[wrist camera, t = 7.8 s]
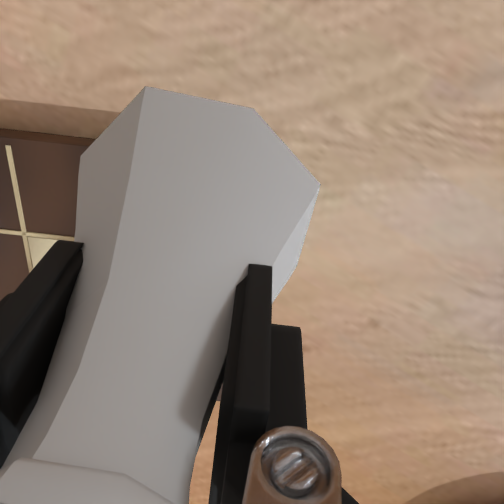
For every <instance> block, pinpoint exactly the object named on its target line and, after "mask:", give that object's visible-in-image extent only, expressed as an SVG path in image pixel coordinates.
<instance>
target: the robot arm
mask: <svg viewBox="0 0 504 504" xmlns="http://www.w3.org/2000/svg"><path fill="white" fill-rule="evenodd" d="M83 244H84V243H82V242H74V241H65V240H58V241H56V242H55V243H54V245H53V246H52V247H51V248H50V249H49V250H48V252H47V253H46V254H45V255H44V256H43V258H42V259H41V260H40V261H39V262H38V264H37V265H36V266H35V267H34V268H33V270H32V271H31V272H30V273H29V274H28V276H27V277H26V278H25V279H24V280H23V282H22V283H21V284H20V285H19V286H18V288H17V289H16V290H15V291H14V292H13V293H9V294H7V295H6V296H5V297H4V298H3V299H2V300H1V301H0V469H1V468H2V466H3V464H4V463H5V461H6V459H7V457H8V455H9V453H10V452H11V450H12V448H13V446H14V444H15V442H16V440H17V439H18V437H19V435H20V433H21V431H22V429H23V427H24V426H25V424H26V422H27V420H28V418H29V416H30V415H31V413H32V411H33V409H34V407H35V405H36V403H37V401H38V398H39V395H40V392H41V389H42V386H43V383H44V380H45V377H46V374H47V371H48V368H49V365H50V362H51V359H52V356H53V353H54V350H55V347H56V344H57V341H58V338H59V335H60V331H61V328H62V325H63V322H64V319H65V314H66V308H67V306H68V303H69V300H70V297H71V294H72V291H73V289H74V286H75V283H76V280H77V277H78V274H79V272H80V269H81V266H82V263H83V252H82V249H81V248H82V247H83ZM271 316H272V266H268V265H260V264H249V266H248V275H247V276H246V277H245V278H244V279H243V280H242V281H241V282H240V283H239V284H238V285H237V286H236V291H235V299H234V306H233V313H232V321H231V328H230V335H229V343H228V350H227V357H226V365H225V372H224V379H223V387H222V394H221V402H220V410H219V418H218V427H217V435H216V444H215V452H214V461H213V470H212V478H211V487H210V495H209V504H359V503H358V502H357V501H356V500H355V499H354V498H353V497H352V496H350V495H349V494H348V493H347V492H346V491H345V490H344V489H343V488H342V487H341V470H340V464H339V460H338V458H337V456H336V454H335V452H334V450H333V449H332V448H331V447H330V446H329V444H328V443H327V442H326V441H325V440H324V439H323V438H321V437H320V436H318V435H317V434H315V433H314V432H312V431H310V430H307V416H306V400H305V384H304V369H303V353H302V338H301V329H300V327H294V326H286V325H277V324H271Z"/></svg>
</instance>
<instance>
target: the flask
mask: <svg viewBox="0 0 504 504" xmlns="http://www.w3.org/2000/svg"><path fill="white" fill-rule="evenodd" d="M320 185H321V184H320V183H319V182H318V181H317V180H316V179H315V178H314V176H313V175H312V174H311V173H310V172H309V171H308V170H307V168H306V167H305V166H304V165H303V164H302V163H301V162H300V161H299V159H298V158H297V157H296V156H295V155H294V154H293V153H292V151H291V150H290V149H289V148H288V147H287V146H286V145H285V144H284V142H283V141H282V140H281V139H280V138H279V137H278V136H277V134H276V133H275V132H274V131H273V130H272V129H271V128H270V127H269V125H268V124H267V123H266V122H265V121H264V120H263V119H262V117H261V116H260V115H259V114H258V113H257V112H256V111H255V110H254V108H249V107H244V106H239V105H234V104H230V103H225V102H220V101H215V100H210V99H205V98H201V97H196V96H191V95H186V94H181V93H176V92H172V91H167V90H162V89H157V88H152V87H147V86H145V87H144V89H143V90H142V91H141V92H140V93H139V94H138V95H137V96H136V97H135V98H134V99H133V100H132V101H131V103H130V104H129V105H128V106H127V107H126V108H125V109H124V110H123V111H122V112H121V113H120V114H119V115H118V116H117V118H116V119H115V120H114V121H113V122H112V123H111V124H110V125H109V126H108V127H107V128H106V129H105V130H104V131H103V133H102V134H101V135H100V136H99V137H98V138H97V139H96V140H95V141H94V142H93V143H92V144H91V145H90V147H89V148H88V149H87V150H86V151H85V152H84V153H83V154H82V155H81V157H80V166H79V175H78V193H77V211H76V229H75V238H74V242H82V243H84V244H83V247H82V248H81V249H82V252H83V263H82V266H81V269H80V272H79V274H78V277H77V280H76V283H75V286H74V289H73V291H72V294H71V297H70V300H69V303H68V306H67V308H66V314H65V319H64V322H63V325H62V328H61V331H60V335H59V338H58V341H57V344H56V347H55V350H54V353H53V356H52V359H51V362H50V365H49V368H48V371H47V374H46V377H45V380H44V383H43V386H42V389H41V392H40V395H39V398H38V401H37V403H36V405H35V407H34V409H33V411H32V413H31V415H30V416H29V418H28V420H27V422H26V424H25V426H24V427H23V429H22V431H21V433H20V435H19V437H18V439H17V440H16V442H15V444H14V446H13V448H12V450H11V452H10V453H9V455H8V457H7V459H6V461H5V463H4V464H3V466H2V468H1V469H0V504H189V490H190V482H191V477H192V472H193V467H194V461H195V457H196V454H197V451H198V449H199V446H200V443H201V440H202V438H203V435H204V432H205V430H206V427H207V424H208V421H209V419H210V416H211V413H212V410H213V408H214V405H215V402H216V400H217V397H218V394H219V391H220V389H221V386H222V384H223V379H224V372H225V365H226V357H227V350H228V343H229V335H230V328H231V321H232V313H233V306H234V299H235V291H236V286H237V285H238V284H239V283H240V282H241V281H242V280H243V279H244V278H245V277H246V276H247V275H248V266H249V264H260V265H268V266H272V303H273V301H274V300H275V298H276V297H277V295H278V294H279V293H280V291H281V290H282V288H283V287H284V285H285V284H286V282H287V281H288V280H289V278H290V276H291V275H292V273H293V271H294V270H295V268H296V266H297V264H298V260H299V257H300V253H301V250H302V246H303V243H304V240H305V236H306V233H307V229H308V226H309V223H310V219H311V216H312V212H313V209H314V206H315V202H316V199H317V195H318V192H319V188H320Z"/></svg>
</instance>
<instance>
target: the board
mask: <svg viewBox="0 0 504 504" xmlns="http://www.w3.org/2000/svg"><path fill="white" fill-rule="evenodd" d="M95 140H96V139H89V138H80V137H72V136H63V135H54V134H45V133H36V132H27V131H18V130H9V129H0V301H1V300H2V299H3V298H4V297H5V296H6V295H7V294H9V293H13V292H14V291H15V290H16V289H17V288H18V286H19V285H20V284H21V283H22V282H23V280H24V279H25V278H26V277H27V276H28V274H29V273H30V272H31V271H32V270H33V268H34V267H35V266H36V265H37V264H38V262H39V261H40V260H41V259H42V258H43V256H44V255H45V254H46V253H47V252H48V250H49V249H50V248H51V247H52V246H53V245H54V243H55V242H56V241H58V240H65V241H74V238H75V229H76V211H77V193H78V175H79V166H80V157H81V155H82V154H83V153H84V152H85V151H86V150H87V149H88V148H89V147H90V145H91V144H92V143H93V142H94V141H95ZM222 387H223V384H222V386H221V389H220V391H219V394H218V397H217V400H216V401H221V394H222Z"/></svg>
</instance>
